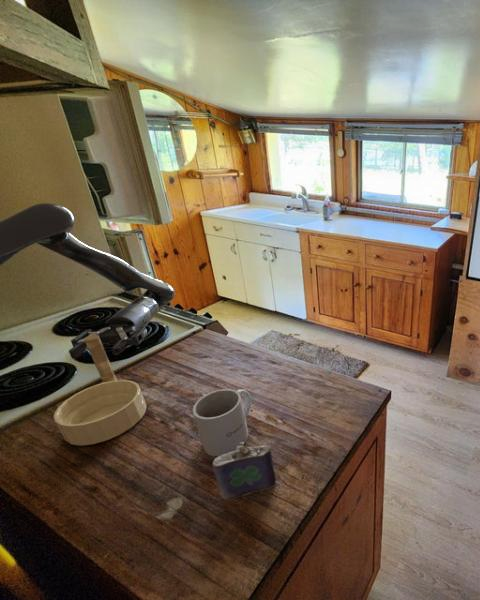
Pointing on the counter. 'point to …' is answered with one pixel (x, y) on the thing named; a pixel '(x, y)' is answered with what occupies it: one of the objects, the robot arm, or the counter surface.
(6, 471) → the counter surface
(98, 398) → the bowl
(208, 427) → the mug
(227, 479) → the flask
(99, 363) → the stick
